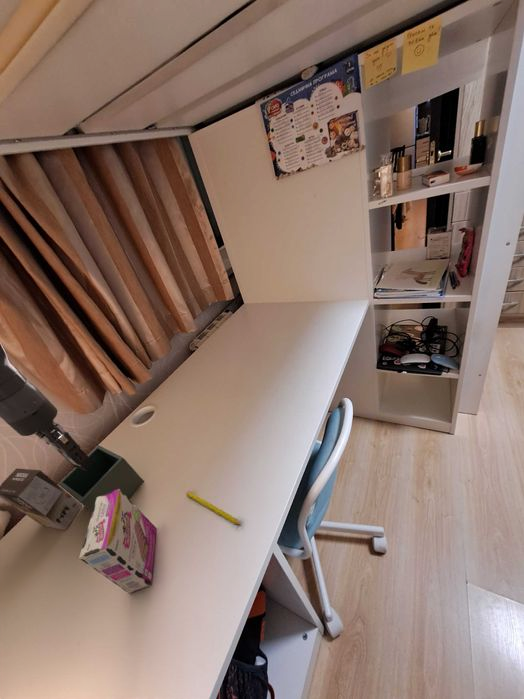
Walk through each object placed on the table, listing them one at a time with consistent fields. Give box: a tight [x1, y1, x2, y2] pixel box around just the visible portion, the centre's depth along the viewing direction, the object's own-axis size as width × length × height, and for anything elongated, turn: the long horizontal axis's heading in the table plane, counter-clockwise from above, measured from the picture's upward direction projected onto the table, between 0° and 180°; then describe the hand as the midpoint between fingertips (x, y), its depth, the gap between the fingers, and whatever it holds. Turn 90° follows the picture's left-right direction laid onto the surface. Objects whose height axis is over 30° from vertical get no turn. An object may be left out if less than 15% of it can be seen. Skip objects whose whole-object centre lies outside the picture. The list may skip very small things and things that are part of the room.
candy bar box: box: [78, 489, 157, 594], centre depth 56 cm, size 11×5×16 cm, turn 13°
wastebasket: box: [57, 444, 145, 513], centre depth 73 cm, size 12×12×10 cm
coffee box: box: [0, 467, 83, 531], centre depth 70 cm, size 9×6×16 cm
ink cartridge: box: [56, 448, 94, 471], centre depth 67 cm, size 5×2×8 cm, turn 67°
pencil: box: [186, 490, 242, 525], centre depth 65 cm, size 16×1×1 cm, turn 57°
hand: (76, 457), depth 67 cm, fingers closed on ink cartridge, 5 cm apart
